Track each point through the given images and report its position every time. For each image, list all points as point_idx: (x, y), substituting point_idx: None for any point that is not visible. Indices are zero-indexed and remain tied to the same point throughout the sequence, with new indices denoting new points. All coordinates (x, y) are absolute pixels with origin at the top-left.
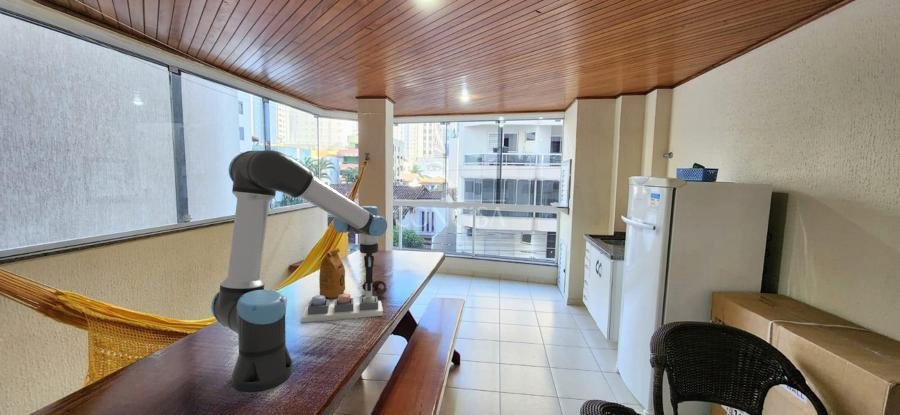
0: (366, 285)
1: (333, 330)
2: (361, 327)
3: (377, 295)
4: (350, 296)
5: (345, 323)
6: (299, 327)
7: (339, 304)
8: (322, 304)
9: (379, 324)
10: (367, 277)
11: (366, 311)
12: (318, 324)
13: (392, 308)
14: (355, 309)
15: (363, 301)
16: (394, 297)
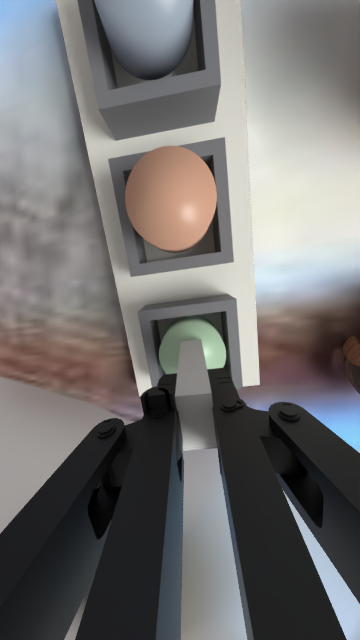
0: (177, 389)
1: (4, 215)
2: (40, 319)
3: (347, 364)
4: (177, 248)
5: (70, 253)
6: (13, 26)
7: (124, 190)
8: (118, 56)
9: (68, 376)
10: (35, 513)
11: (135, 333)
12: (53, 126)
13: None
14: (160, 282)
15: (173, 325)
16: (333, 422)
